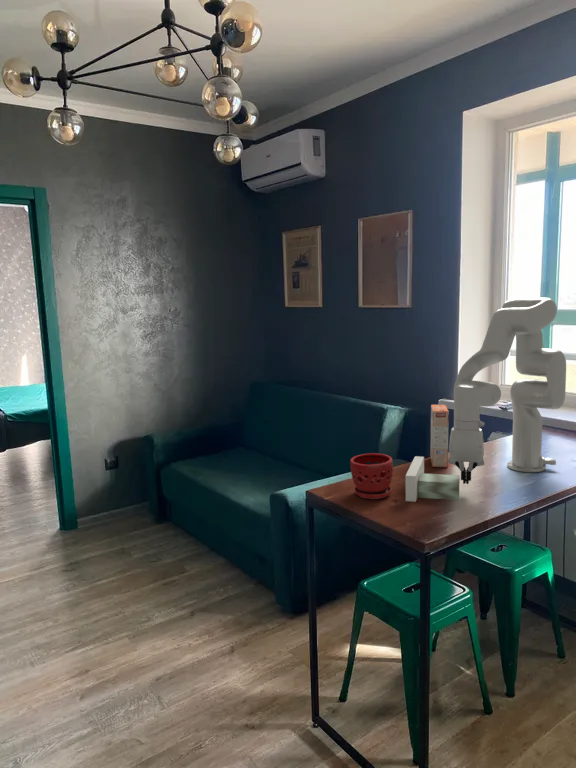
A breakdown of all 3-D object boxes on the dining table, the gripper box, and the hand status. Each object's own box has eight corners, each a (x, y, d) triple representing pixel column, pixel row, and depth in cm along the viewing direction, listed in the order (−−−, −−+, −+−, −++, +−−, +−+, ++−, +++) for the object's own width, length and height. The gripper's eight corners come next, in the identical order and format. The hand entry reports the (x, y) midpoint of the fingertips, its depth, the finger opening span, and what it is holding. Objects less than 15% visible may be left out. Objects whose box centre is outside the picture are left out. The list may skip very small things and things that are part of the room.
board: (424, 479, 193) (424, 456, 192) (415, 501, 172) (415, 476, 171) (415, 479, 194) (415, 456, 193) (405, 500, 173) (405, 475, 172)
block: (459, 492, 180) (459, 475, 179) (458, 500, 172) (459, 483, 172) (420, 489, 184) (420, 473, 183) (418, 498, 176) (418, 480, 175)
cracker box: (449, 468, 205) (449, 411, 202) (431, 467, 206) (431, 411, 203) (446, 457, 218) (446, 403, 215) (430, 457, 219) (430, 403, 216)
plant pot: (367, 485, 189) (366, 450, 187) (401, 493, 180) (400, 456, 178) (342, 496, 180) (341, 459, 178) (377, 505, 171) (376, 466, 169)
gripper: (492, 423, 175) (491, 480, 178) (442, 421, 180) (442, 477, 183) (492, 428, 168) (491, 488, 171) (440, 426, 173) (440, 484, 176)
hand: (465, 482), depth 177 cm, fingers closed
